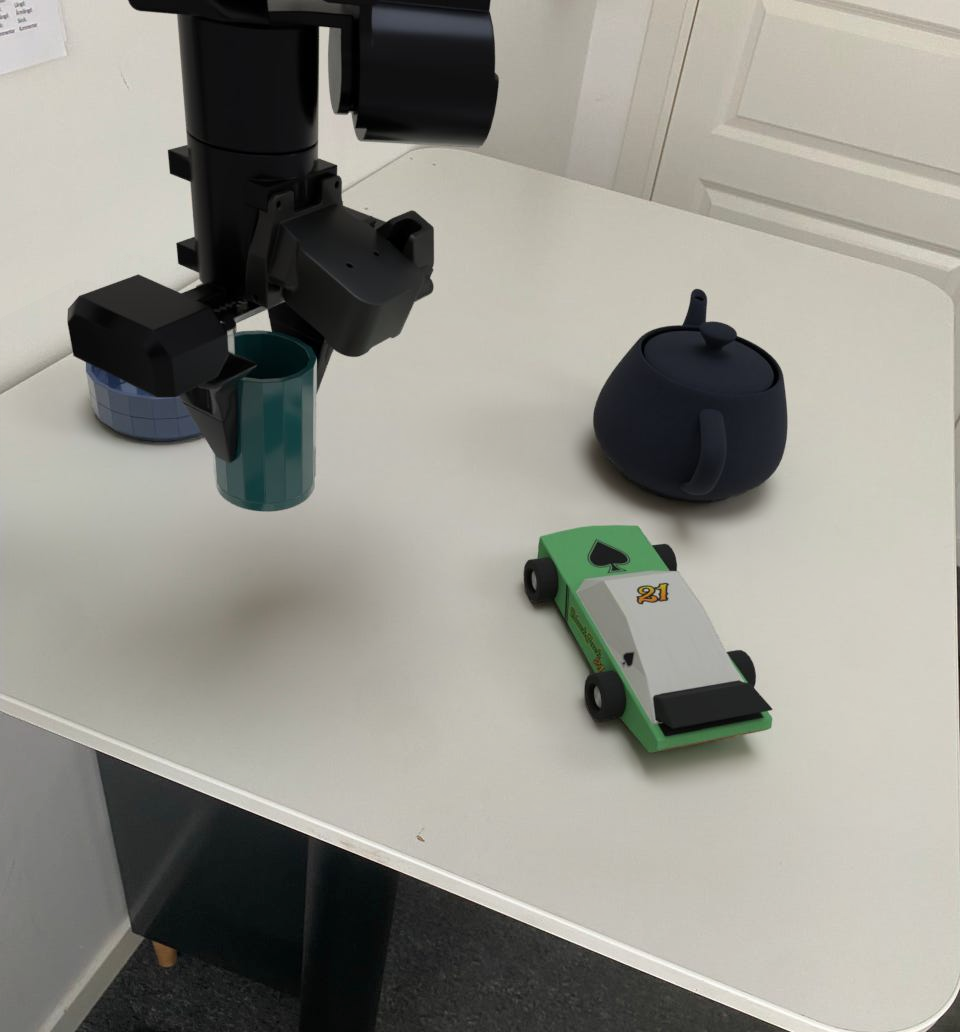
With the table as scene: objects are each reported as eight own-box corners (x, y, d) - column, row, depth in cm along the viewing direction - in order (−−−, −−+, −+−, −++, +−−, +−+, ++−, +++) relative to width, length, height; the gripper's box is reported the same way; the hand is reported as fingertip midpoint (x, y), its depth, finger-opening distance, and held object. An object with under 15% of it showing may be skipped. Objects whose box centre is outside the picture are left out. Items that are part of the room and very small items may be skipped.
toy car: (642, 551, 70) (659, 495, 66) (777, 749, 57) (807, 693, 53) (511, 566, 66) (522, 509, 63) (624, 780, 54) (646, 723, 50)
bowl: (75, 436, 71) (65, 388, 69) (117, 369, 79) (110, 324, 76) (216, 452, 72) (212, 406, 69) (244, 384, 80) (241, 340, 77)
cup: (205, 504, 52) (193, 373, 47) (228, 450, 56) (220, 324, 51) (306, 517, 53) (306, 388, 47) (321, 462, 57) (323, 338, 51)
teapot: (786, 566, 70) (850, 423, 62) (581, 533, 70) (617, 385, 62) (751, 401, 88) (796, 273, 80) (588, 375, 88) (617, 244, 80)
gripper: (246, 244, 33) (260, 582, 44) (513, 145, 45) (473, 427, 56) (27, 154, 36) (90, 487, 47) (330, 84, 49) (325, 361, 59)
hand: (263, 437), depth 52 cm, fingers closed on cup, 6 cm apart
